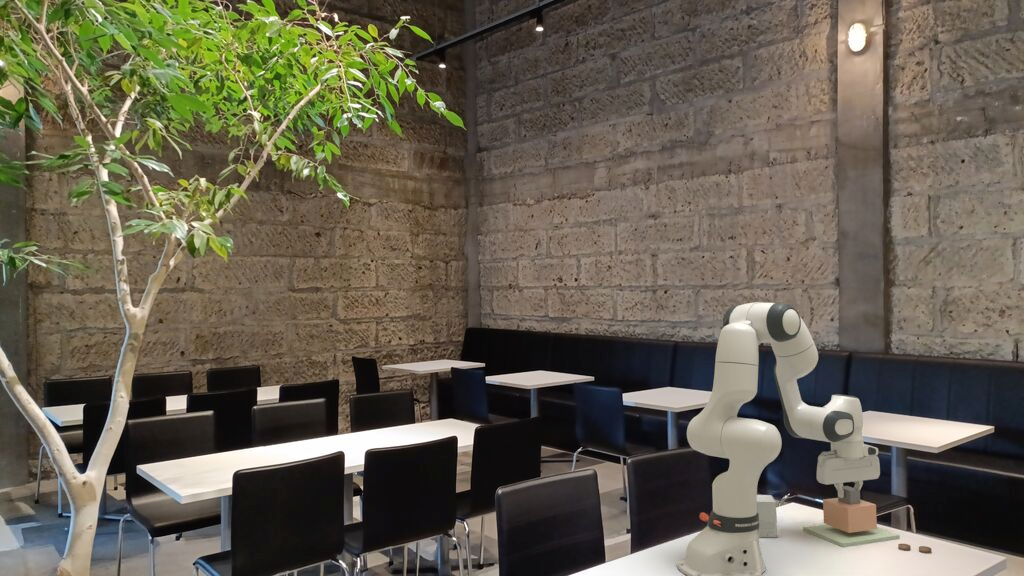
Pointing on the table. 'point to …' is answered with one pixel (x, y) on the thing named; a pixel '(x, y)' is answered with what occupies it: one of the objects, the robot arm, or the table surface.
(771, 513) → the small box
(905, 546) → the token
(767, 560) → the table surface
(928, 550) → the token
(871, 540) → the sage board
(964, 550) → the table surface
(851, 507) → the peach base with post
